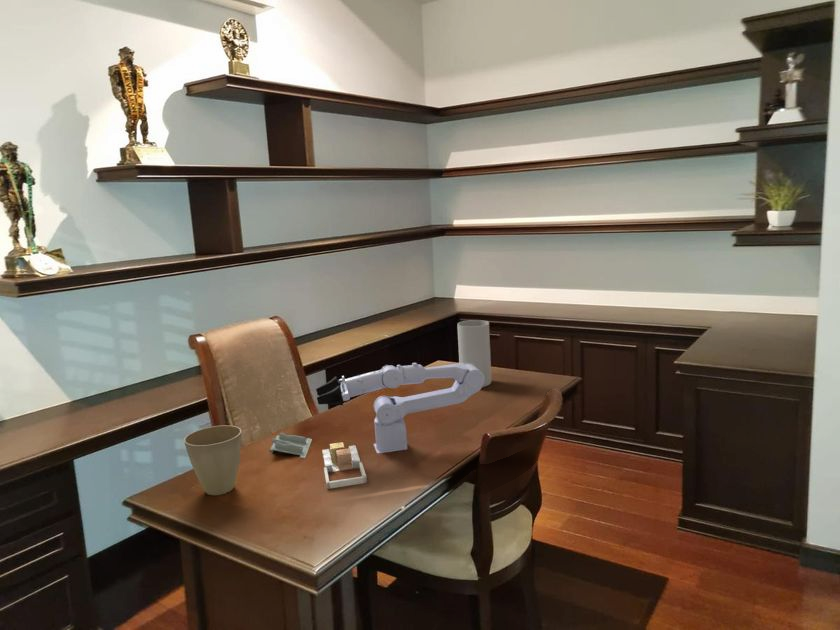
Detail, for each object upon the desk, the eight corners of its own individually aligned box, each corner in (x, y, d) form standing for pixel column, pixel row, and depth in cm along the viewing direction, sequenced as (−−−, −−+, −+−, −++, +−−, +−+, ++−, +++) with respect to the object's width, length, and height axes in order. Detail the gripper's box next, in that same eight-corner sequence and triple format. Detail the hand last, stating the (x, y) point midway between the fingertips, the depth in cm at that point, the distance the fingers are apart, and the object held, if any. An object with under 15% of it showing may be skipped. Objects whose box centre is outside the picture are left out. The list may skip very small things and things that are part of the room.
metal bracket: (267, 445, 186) (276, 427, 201) (263, 463, 187) (273, 443, 202) (314, 454, 188) (320, 435, 202) (310, 472, 189) (317, 452, 203)
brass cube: (344, 454, 188) (342, 442, 187) (345, 459, 184) (344, 447, 184) (330, 456, 187) (329, 444, 187) (331, 461, 184) (330, 449, 183)
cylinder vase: (458, 380, 257) (454, 321, 252) (487, 378, 258) (485, 319, 253) (463, 389, 245) (460, 327, 240) (494, 386, 246) (492, 325, 241)
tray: (362, 469, 179) (361, 461, 178) (367, 484, 169) (366, 477, 168) (324, 474, 177) (323, 467, 176) (327, 490, 167) (326, 483, 166)
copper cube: (350, 460, 183) (349, 448, 182) (352, 466, 179) (351, 453, 179) (337, 463, 182) (335, 450, 182) (338, 468, 179) (337, 455, 178)
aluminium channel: (355, 453, 190) (355, 445, 190) (360, 469, 179) (360, 460, 178) (323, 457, 188) (322, 449, 188) (325, 474, 177) (325, 465, 176)
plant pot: (258, 487, 171) (251, 432, 168) (207, 508, 161) (199, 450, 158) (231, 472, 182) (225, 420, 179) (182, 491, 172) (174, 436, 169)
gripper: (356, 365, 193) (313, 376, 191) (360, 379, 179) (314, 392, 177) (361, 385, 195) (318, 397, 193) (366, 401, 181) (320, 414, 179)
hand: (317, 396), depth 185 cm, fingers open, 7 cm apart
